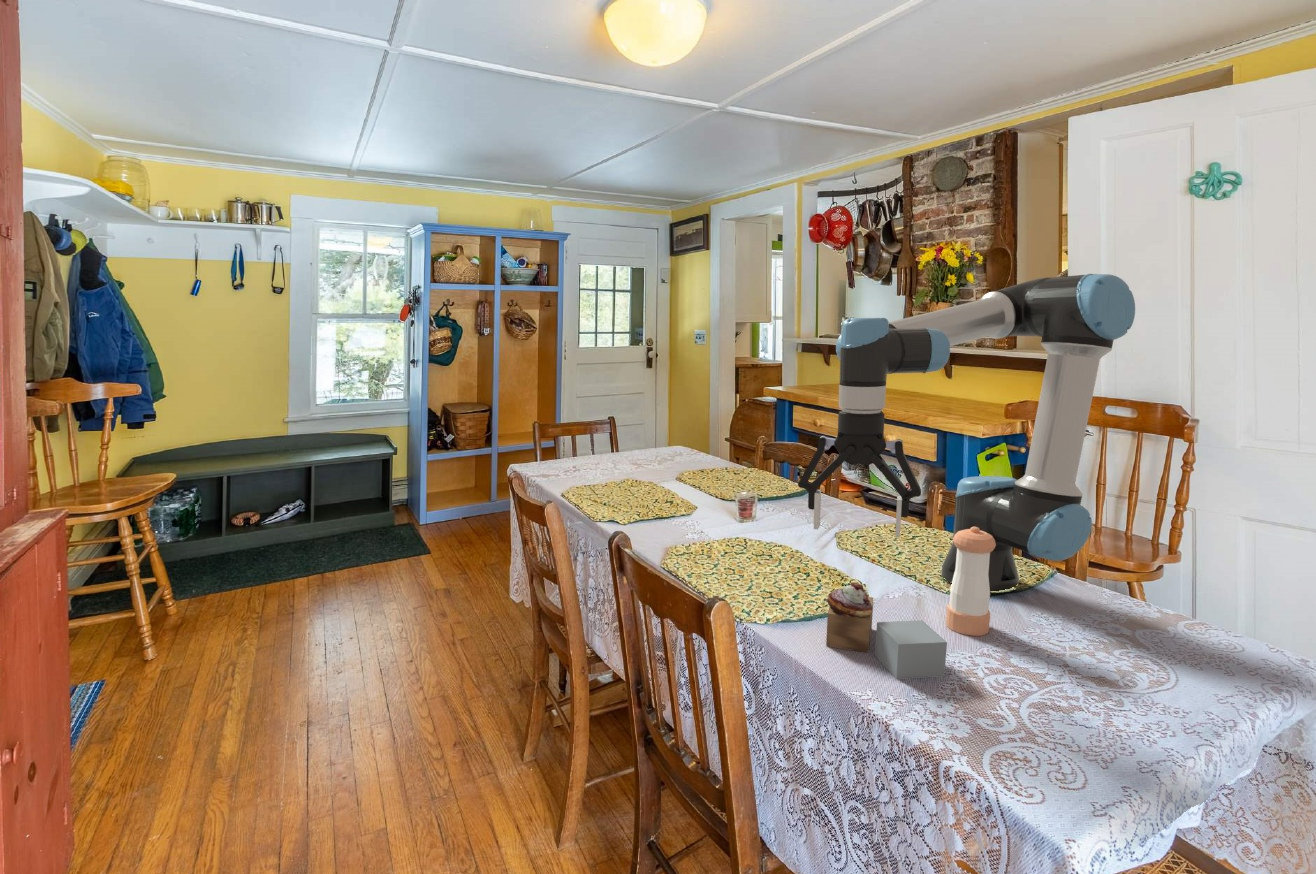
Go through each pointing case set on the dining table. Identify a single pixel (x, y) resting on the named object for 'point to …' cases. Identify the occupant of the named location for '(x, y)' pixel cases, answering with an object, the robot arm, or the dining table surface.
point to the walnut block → (849, 631)
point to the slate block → (910, 649)
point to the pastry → (850, 601)
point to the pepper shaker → (970, 583)
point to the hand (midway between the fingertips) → (856, 531)
